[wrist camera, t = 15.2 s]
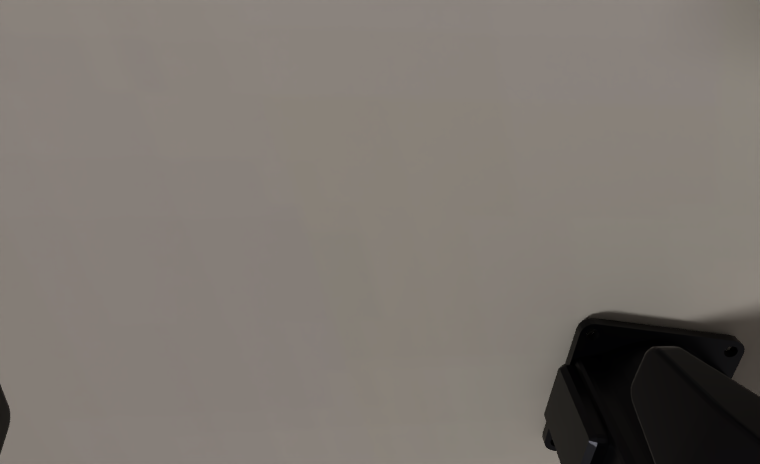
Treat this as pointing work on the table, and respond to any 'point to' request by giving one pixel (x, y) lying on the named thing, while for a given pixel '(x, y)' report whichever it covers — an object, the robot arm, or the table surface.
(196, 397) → the table surface
